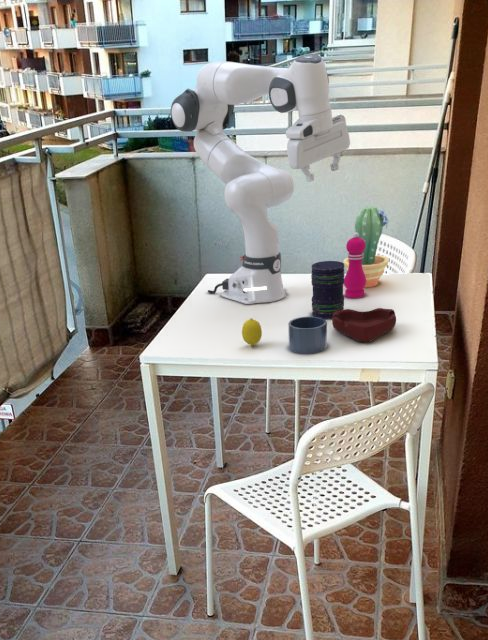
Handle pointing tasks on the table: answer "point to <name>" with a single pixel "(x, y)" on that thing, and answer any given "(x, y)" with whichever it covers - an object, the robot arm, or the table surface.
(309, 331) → the cup
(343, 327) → the ashtray
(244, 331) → the lemon
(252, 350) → the table surface
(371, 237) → the potted cactus
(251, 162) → the robot arm
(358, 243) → the pepper mill
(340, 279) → the dark blue barrel
